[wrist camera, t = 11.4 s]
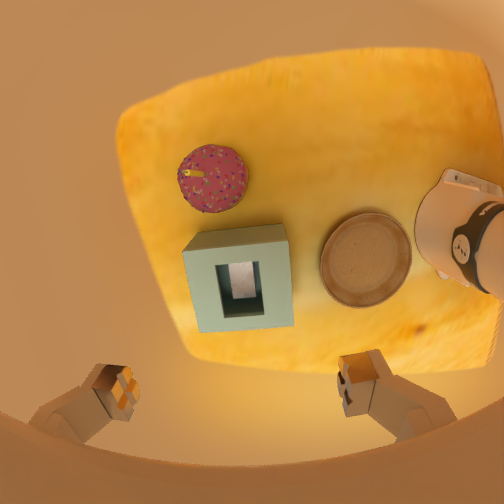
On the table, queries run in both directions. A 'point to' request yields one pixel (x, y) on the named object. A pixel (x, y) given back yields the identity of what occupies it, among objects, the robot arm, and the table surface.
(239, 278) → the block
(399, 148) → the table surface
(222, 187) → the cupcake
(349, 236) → the plant saucer
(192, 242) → the coin box
